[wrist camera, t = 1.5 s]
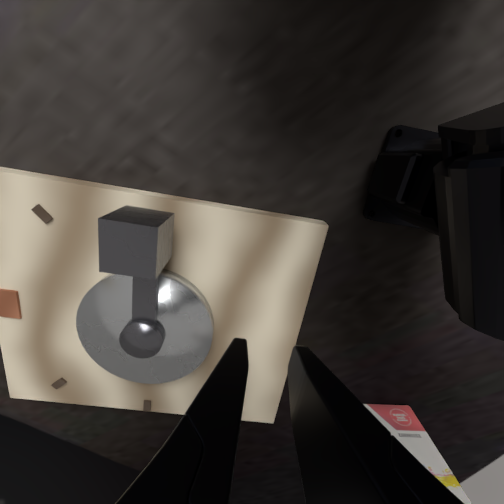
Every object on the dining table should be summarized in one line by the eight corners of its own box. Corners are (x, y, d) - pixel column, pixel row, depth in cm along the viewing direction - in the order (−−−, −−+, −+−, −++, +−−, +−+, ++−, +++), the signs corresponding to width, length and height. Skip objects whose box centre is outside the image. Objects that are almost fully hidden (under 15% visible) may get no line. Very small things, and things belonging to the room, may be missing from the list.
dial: (206, 378, 23) (197, 430, 19) (87, 365, 23) (49, 417, 18) (230, 217, 18) (226, 238, 14) (79, 192, 18) (24, 206, 13)
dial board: (322, 220, 21) (329, 226, 19) (271, 409, 27) (273, 425, 26) (-12, 164, 19) (-36, 165, 17) (23, 383, 25) (8, 399, 24)
